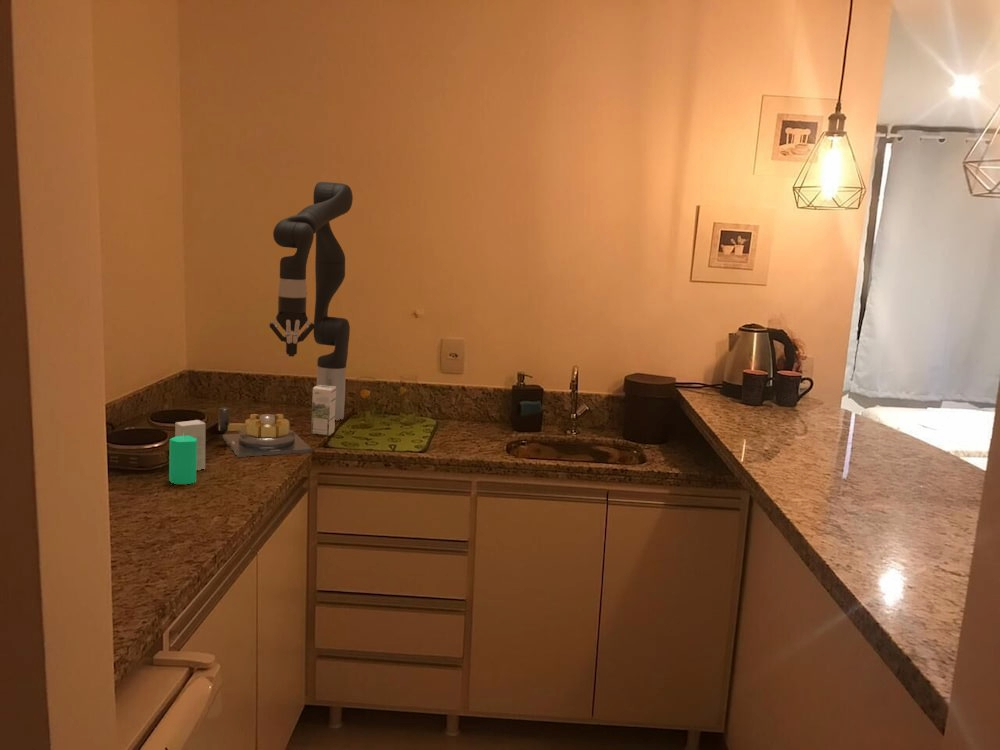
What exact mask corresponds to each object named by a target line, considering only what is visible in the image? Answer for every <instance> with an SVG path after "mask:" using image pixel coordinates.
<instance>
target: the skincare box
mask: <svg viewBox="0 0 1000 750" xmlns="http://www.w3.org/2000/svg"><path fill="white" fill-rule="evenodd" d="M174 425H175V426H174V431H175V432H174V435H175V436H174V437H177V436H183V432H184V436H191V437H194V438H197V470H198V471H202V470H201V469H204V470H205V469H206V425H207V424H206V423H205V422H204V421H202V420H200V419H194V420H188V421H187V420H186V421H176V422H175V423H174Z"/></svg>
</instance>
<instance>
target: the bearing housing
mask: <svg viewBox="0 0 1000 750" xmlns="http://www.w3.org/2000/svg"><path fill="white" fill-rule="evenodd" d="M259 415H260V420H261V424H262V425H274V424H275V415H276V414H273V413H272V414H271V413H265V414H263V413H262V414H259ZM222 439H223V441H226V442H225V443H226V445H228V447H229V446H230V447H229V448H230V449H231V451H232V450H233V451H234V452H233V451H232V452H233V453H234V454H235V456H236V455H237V456H236V457H237V458H238V457H239V458H250V457H249V456H254V457H263V456H262V455H268V456H278V454H282V455H293V454H295V453H296V454H305V453H307V454H308V453H313V448H312V447H311V446H310V445H309V444H308V443H306V441H304V439H302V438H301V437H300V436H299V435H298V434H297V433H296V432H295V431H294V430H292V429H290V428H289V434H288V435H284V436H281V437H267V438H261V437H255V436H250V435H247V434H246V432H245V431H239V432H238V433H229V434H227V433H225V434H222ZM292 453H293V454H292ZM247 456H248V457H247Z"/></svg>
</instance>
